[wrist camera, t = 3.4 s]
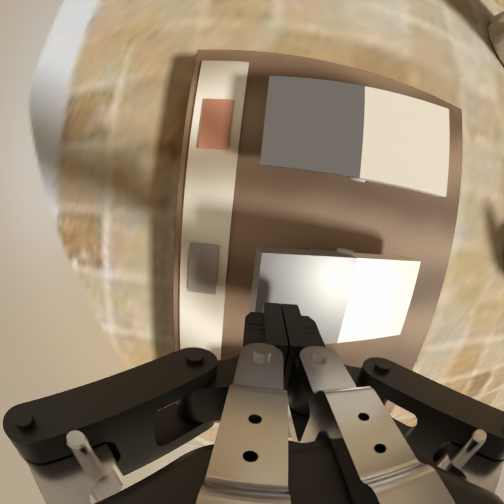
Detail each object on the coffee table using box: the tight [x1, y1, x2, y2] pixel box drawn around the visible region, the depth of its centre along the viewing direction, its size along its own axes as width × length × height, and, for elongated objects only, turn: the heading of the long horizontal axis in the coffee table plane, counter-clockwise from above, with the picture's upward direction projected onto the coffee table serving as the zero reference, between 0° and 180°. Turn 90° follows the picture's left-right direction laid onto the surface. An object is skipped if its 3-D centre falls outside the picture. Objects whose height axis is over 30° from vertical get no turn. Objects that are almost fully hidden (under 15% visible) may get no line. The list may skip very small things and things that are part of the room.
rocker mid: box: [249, 247, 421, 344], centre depth 15 cm, size 5×10×2 cm, turn 84°
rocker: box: [260, 76, 450, 197], centre depth 12 cm, size 5×10×2 cm, turn 84°
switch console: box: [173, 50, 462, 423], centre depth 18 cm, size 29×20×5 cm
